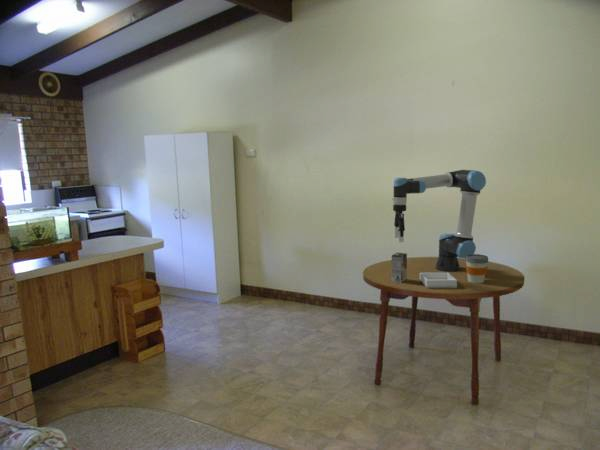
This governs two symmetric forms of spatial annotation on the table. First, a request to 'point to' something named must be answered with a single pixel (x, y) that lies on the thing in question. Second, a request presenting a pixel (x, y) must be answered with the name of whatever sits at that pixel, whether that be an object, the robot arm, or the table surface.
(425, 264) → the table surface
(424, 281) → the bin
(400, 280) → the coffee box
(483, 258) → the reusable coffee cup
